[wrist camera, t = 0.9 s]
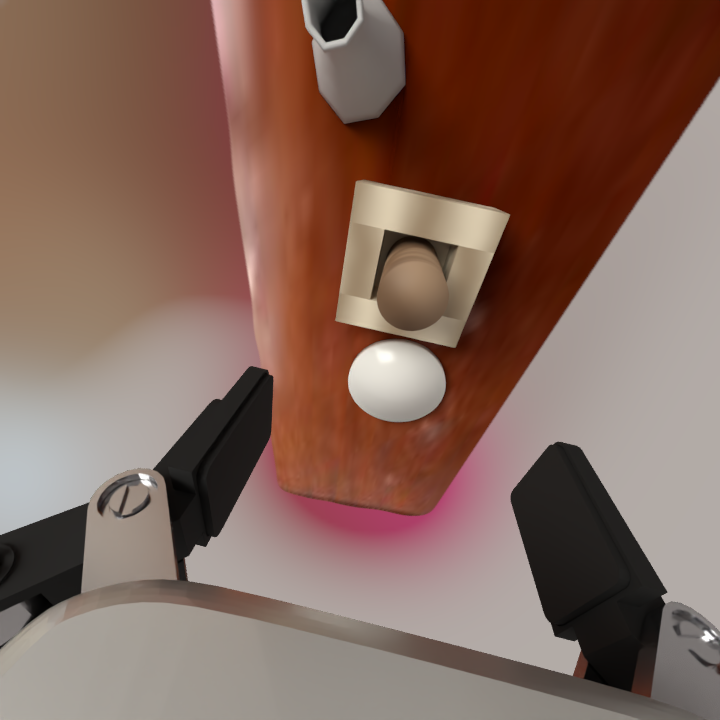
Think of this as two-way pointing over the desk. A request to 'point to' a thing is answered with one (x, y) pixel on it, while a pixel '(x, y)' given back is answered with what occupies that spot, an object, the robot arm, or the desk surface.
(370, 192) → the birch holder
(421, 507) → the desk surface
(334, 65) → the flask
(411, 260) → the walnut peg
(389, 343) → the white round dome
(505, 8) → the desk surface
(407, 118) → the desk surface
